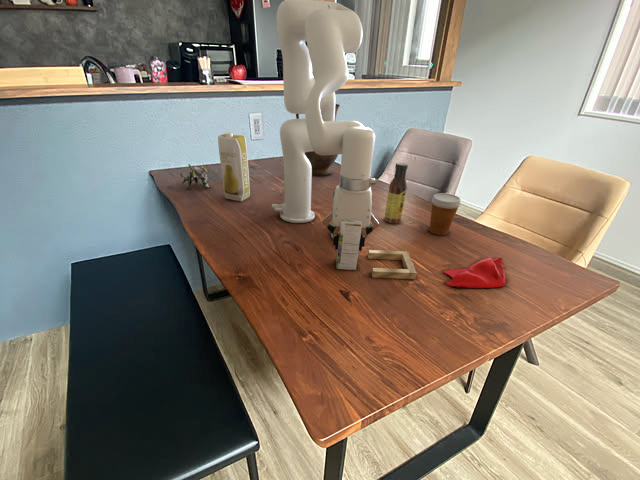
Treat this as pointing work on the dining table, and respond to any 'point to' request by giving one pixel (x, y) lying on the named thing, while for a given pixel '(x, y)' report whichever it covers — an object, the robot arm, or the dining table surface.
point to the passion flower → (197, 176)
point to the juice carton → (234, 166)
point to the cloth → (479, 275)
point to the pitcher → (321, 158)
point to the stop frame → (404, 273)
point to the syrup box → (348, 244)
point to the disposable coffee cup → (443, 212)
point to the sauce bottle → (396, 195)
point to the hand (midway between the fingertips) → (348, 247)
